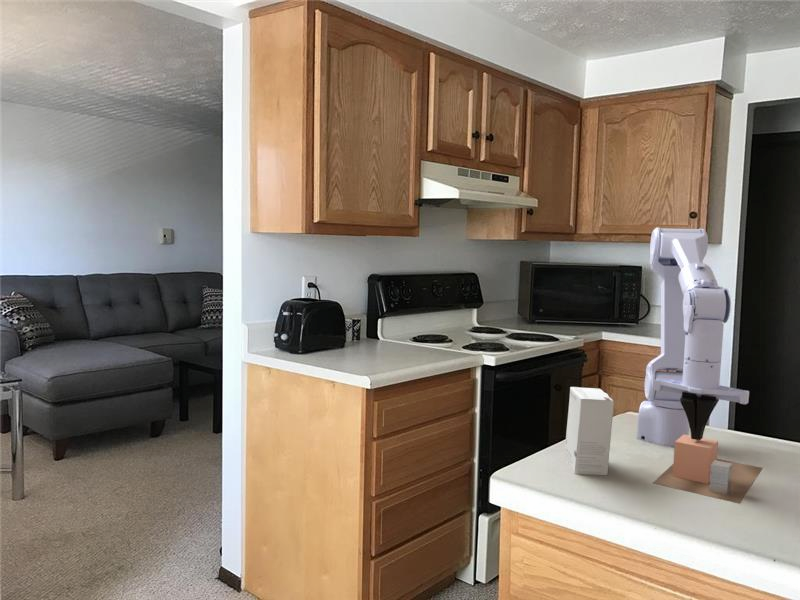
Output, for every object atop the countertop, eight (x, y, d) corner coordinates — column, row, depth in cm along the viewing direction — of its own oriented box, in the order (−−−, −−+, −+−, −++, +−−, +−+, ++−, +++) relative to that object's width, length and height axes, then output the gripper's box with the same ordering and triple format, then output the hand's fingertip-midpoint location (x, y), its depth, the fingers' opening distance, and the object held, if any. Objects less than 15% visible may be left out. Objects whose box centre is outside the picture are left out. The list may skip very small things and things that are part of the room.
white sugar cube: (709, 491, 107) (711, 464, 106) (712, 486, 109) (714, 460, 109) (726, 495, 105) (728, 467, 105) (730, 490, 107) (732, 463, 107)
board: (651, 491, 110) (652, 482, 110) (685, 460, 127) (685, 452, 127) (738, 512, 102) (739, 503, 102) (761, 475, 119) (762, 467, 119)
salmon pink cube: (672, 475, 114) (674, 441, 113) (681, 467, 118) (683, 434, 117) (707, 483, 110) (710, 448, 110) (715, 474, 115) (718, 440, 114)
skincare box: (563, 466, 122) (567, 386, 120) (596, 467, 122) (600, 387, 120) (574, 483, 113) (579, 397, 112) (610, 484, 113) (615, 398, 112)
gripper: (650, 356, 113) (646, 435, 115) (745, 368, 105) (739, 453, 106) (662, 351, 119) (658, 426, 120) (753, 362, 110) (747, 442, 112)
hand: (696, 438), depth 114 cm, fingers closed
